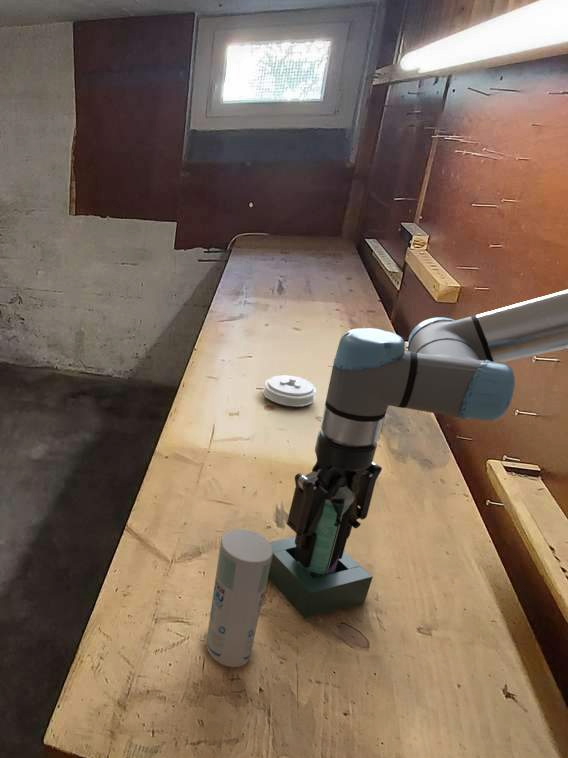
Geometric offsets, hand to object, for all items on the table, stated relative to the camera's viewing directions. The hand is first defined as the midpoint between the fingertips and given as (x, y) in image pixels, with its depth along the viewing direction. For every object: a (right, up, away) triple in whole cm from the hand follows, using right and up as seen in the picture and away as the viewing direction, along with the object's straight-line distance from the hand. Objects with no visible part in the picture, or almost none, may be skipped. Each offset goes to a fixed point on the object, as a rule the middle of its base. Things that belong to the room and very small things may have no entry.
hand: (317, 557), depth 91 cm
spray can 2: (0, -4, +2) cm, 4 cm away
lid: (+24, +24, +61) cm, 70 cm away
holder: (0, -5, +3) cm, 6 cm away
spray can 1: (-17, -11, -8) cm, 22 cm away
